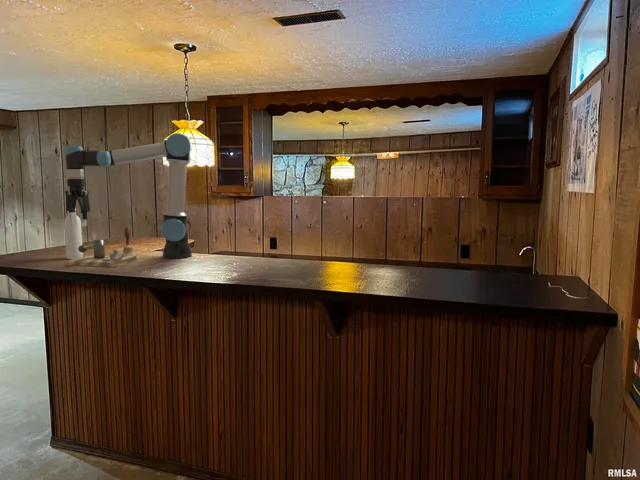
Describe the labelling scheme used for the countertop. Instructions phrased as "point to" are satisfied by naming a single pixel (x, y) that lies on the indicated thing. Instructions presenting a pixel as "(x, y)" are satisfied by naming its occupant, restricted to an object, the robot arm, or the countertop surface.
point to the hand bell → (128, 245)
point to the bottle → (73, 238)
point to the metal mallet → (95, 248)
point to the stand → (103, 260)
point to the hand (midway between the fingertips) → (79, 225)
